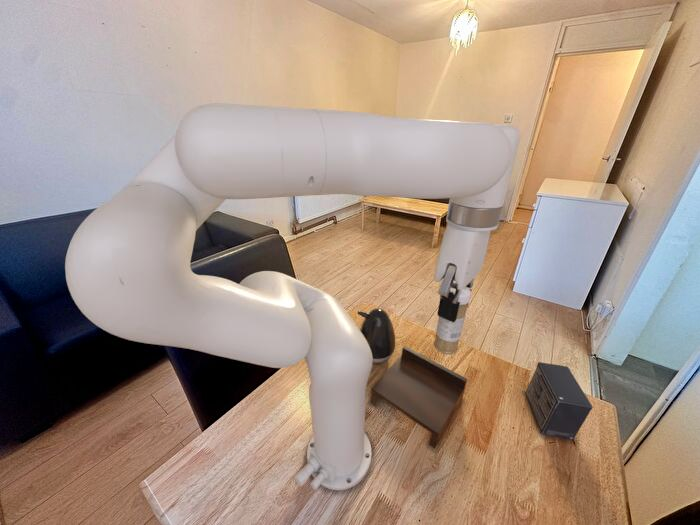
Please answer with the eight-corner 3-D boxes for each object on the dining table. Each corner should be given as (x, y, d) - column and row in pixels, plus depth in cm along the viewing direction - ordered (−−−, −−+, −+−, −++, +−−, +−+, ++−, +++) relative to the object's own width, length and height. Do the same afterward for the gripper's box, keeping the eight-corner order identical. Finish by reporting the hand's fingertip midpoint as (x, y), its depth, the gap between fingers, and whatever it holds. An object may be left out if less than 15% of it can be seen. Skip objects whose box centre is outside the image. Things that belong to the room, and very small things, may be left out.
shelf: (435, 449, 57) (440, 425, 53) (370, 402, 66) (371, 380, 63) (461, 401, 66) (467, 378, 63) (402, 367, 75) (404, 345, 72)
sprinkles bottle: (452, 339, 57) (465, 281, 51) (461, 355, 53) (476, 295, 47) (430, 339, 57) (440, 281, 51) (437, 356, 53) (449, 295, 47)
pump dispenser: (360, 339, 85) (361, 297, 78) (395, 344, 83) (399, 301, 76) (353, 365, 76) (354, 320, 69) (392, 371, 74) (397, 325, 67)
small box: (576, 442, 58) (596, 408, 53) (541, 435, 59) (557, 402, 54) (553, 397, 67) (569, 365, 62) (523, 392, 68) (536, 360, 64)
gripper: (468, 199, 51) (451, 286, 59) (424, 221, 40) (410, 325, 48) (514, 207, 47) (489, 299, 55) (479, 234, 35) (453, 346, 44)
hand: (452, 310), depth 51 cm, fingers closed on sprinkles bottle, 4 cm apart
